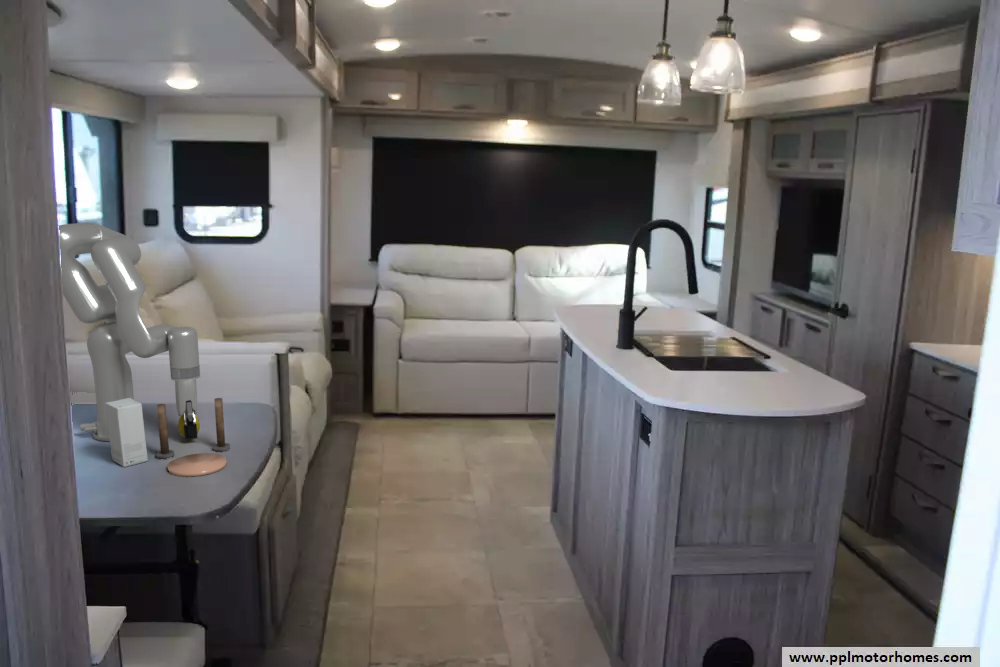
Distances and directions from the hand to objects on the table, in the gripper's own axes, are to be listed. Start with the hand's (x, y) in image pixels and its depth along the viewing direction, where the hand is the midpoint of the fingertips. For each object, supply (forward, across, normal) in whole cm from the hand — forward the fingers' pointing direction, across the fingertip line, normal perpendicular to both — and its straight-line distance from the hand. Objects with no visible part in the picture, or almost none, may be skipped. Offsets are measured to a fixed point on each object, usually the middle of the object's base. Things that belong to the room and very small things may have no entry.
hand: (189, 433), depth 227 cm
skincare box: (+2, +12, -16) cm, 20 cm away
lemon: (+2, 0, 0) cm, 2 cm away
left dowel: (+2, +12, -7) cm, 14 cm away
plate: (+2, +23, 0) cm, 23 cm away
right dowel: (+2, +12, +7) cm, 14 cm away
